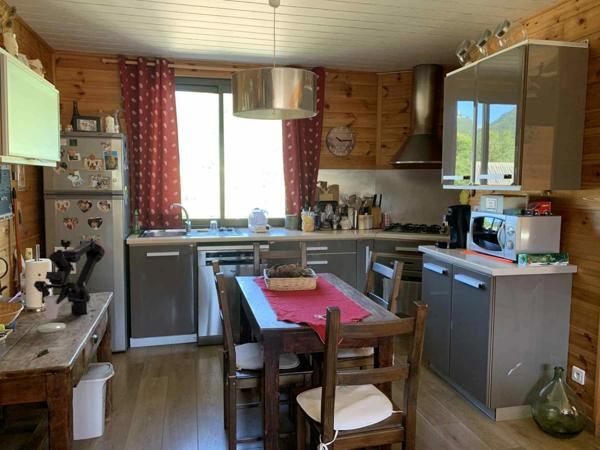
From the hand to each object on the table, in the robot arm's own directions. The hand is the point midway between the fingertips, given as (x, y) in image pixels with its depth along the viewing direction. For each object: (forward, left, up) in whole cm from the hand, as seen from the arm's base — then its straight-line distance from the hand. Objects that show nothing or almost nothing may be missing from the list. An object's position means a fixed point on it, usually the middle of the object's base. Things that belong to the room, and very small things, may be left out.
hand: (49, 303), depth 207 cm
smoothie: (-1, -1, -7) cm, 7 cm away
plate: (-1, -1, -12) cm, 12 cm away
